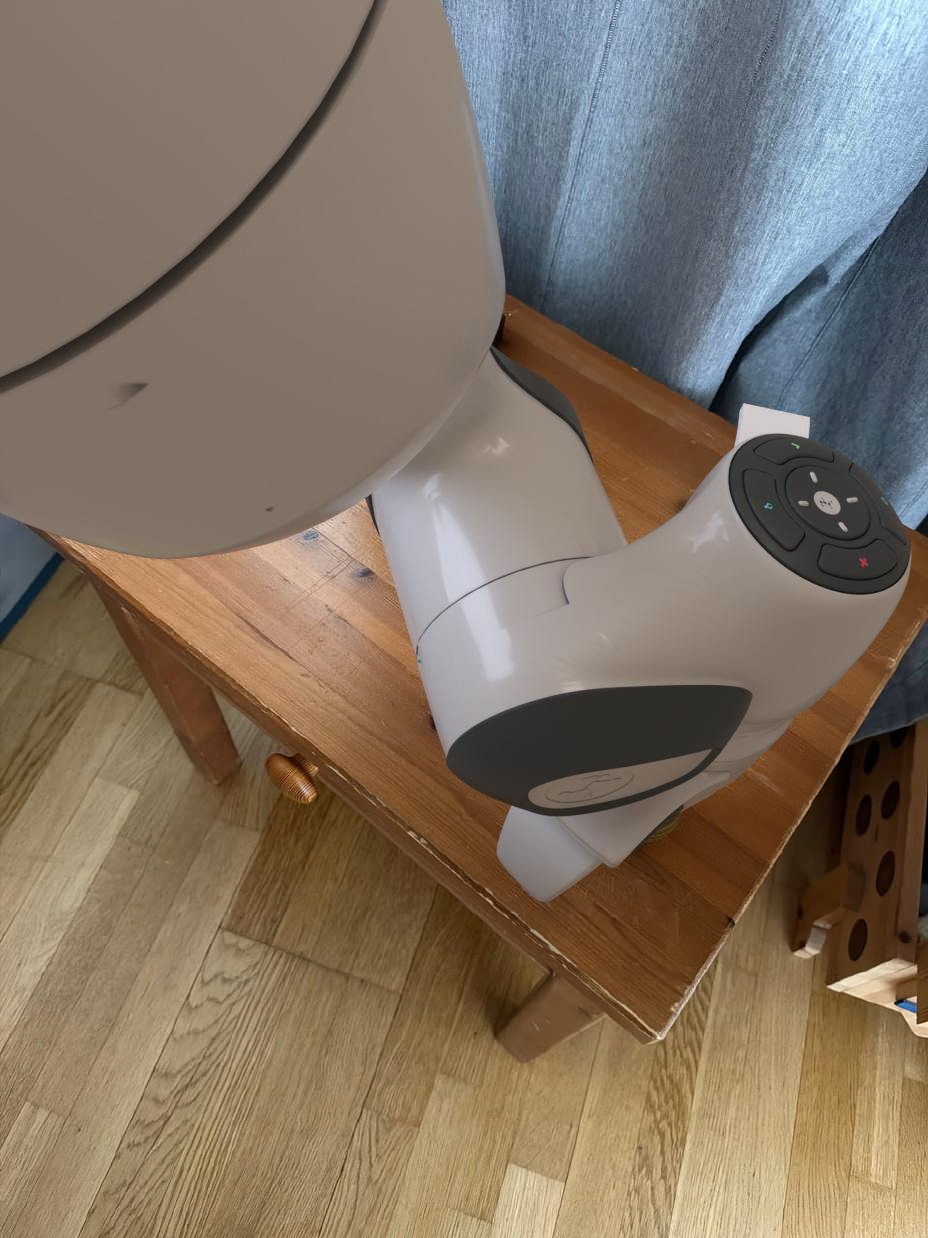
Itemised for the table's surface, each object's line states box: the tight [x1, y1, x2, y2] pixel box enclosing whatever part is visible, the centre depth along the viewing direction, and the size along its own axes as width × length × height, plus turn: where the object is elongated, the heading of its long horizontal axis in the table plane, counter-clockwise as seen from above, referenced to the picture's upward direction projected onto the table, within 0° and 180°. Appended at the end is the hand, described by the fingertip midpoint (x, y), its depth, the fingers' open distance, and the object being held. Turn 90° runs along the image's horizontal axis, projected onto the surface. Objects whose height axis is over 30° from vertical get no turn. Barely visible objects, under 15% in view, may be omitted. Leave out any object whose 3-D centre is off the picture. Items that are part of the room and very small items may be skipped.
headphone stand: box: [733, 402, 811, 448], centre depth 64 cm, size 5×6×12 cm
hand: (615, 791), depth 56 cm, fingers closed on sculpture, 4 cm apart
